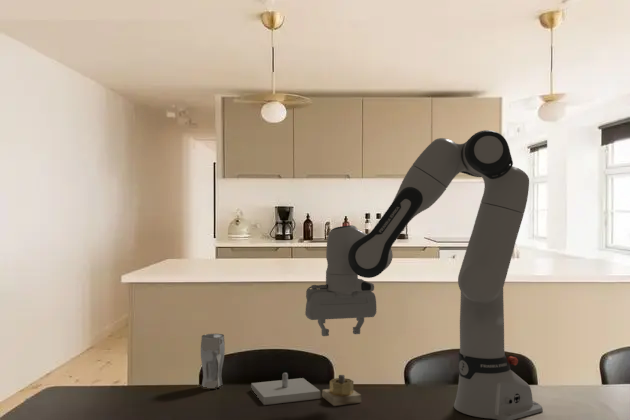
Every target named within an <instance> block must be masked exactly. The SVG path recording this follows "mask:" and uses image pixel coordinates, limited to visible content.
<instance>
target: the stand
mask: <svg viewBox="0 0 630 420" xmlns="http://www.w3.org/2000/svg"><path fill="white" fill-rule="evenodd" d="M338 378H339V383H344V381H345V374H339V375H338ZM321 395H322V398H323V399H325V401H327V402H328V403H329V404H331V405H332V406H333V407H336V406H344V405H352V404H359V403H360V404H361V403H362V394H361V393H360V392H357V391H356V390H355V389H353V393H352V394H351V395H346V396H339V395H333V394H332V393H330V388H326V389H322V393H321Z"/></svg>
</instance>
